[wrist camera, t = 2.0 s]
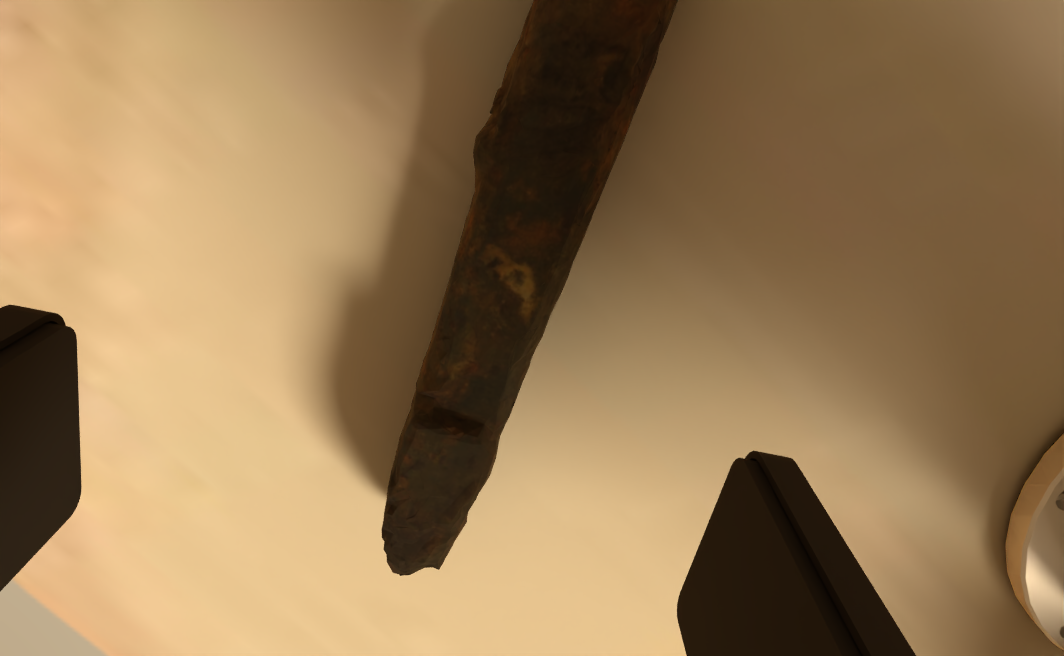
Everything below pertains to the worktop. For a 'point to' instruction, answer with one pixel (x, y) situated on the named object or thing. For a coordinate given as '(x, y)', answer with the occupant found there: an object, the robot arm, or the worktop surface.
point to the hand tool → (515, 252)
